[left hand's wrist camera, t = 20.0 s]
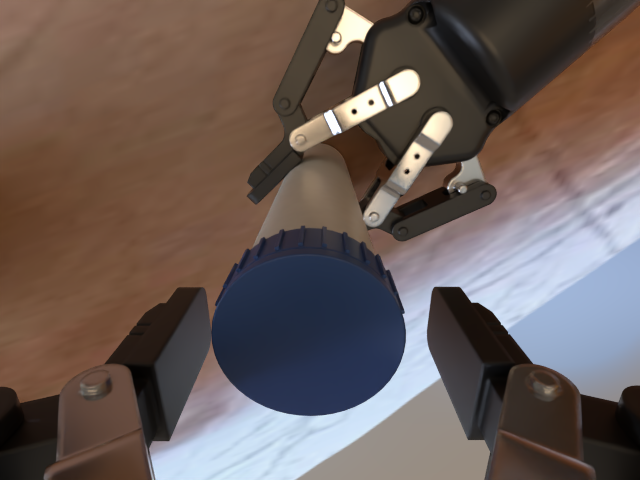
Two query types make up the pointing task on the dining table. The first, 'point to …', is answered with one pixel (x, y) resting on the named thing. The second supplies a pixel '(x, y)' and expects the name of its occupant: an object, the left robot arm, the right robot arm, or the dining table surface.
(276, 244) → the lid
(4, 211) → the dining table surface
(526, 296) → the dining table surface
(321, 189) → the white tube
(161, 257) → the dining table surface
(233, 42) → the dining table surface
